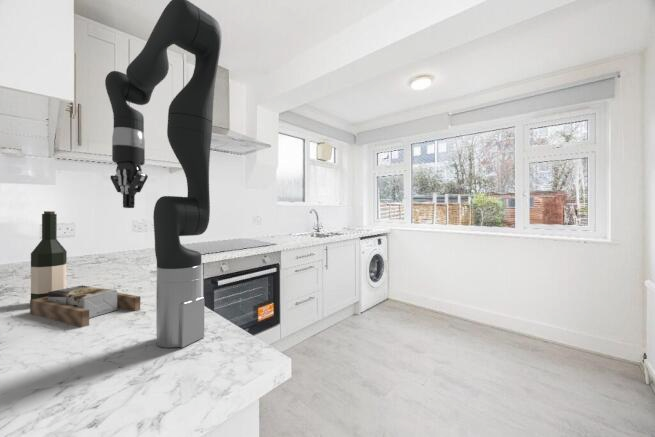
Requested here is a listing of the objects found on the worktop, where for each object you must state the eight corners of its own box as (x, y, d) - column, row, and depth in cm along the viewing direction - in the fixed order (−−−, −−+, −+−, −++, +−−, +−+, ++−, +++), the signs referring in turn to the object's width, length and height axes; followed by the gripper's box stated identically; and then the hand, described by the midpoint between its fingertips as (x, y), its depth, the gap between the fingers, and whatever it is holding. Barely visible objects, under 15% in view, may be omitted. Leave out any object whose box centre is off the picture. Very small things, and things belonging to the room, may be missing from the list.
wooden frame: (140, 309, 86) (140, 296, 86) (82, 327, 72) (82, 311, 72) (89, 299, 96) (89, 288, 96) (30, 313, 82) (30, 299, 82)
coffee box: (83, 297, 76) (46, 291, 82) (83, 320, 77) (46, 313, 82) (117, 289, 85) (82, 284, 90) (118, 310, 85) (82, 304, 90)
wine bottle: (32, 309, 86) (33, 211, 86) (28, 303, 91) (28, 211, 91) (69, 302, 92) (69, 211, 92) (63, 298, 97) (63, 211, 97)
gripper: (157, 148, 81) (157, 208, 81) (127, 151, 86) (127, 208, 86) (130, 141, 74) (130, 207, 74) (99, 145, 79) (99, 207, 79)
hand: (128, 207), depth 80 cm, fingers closed
